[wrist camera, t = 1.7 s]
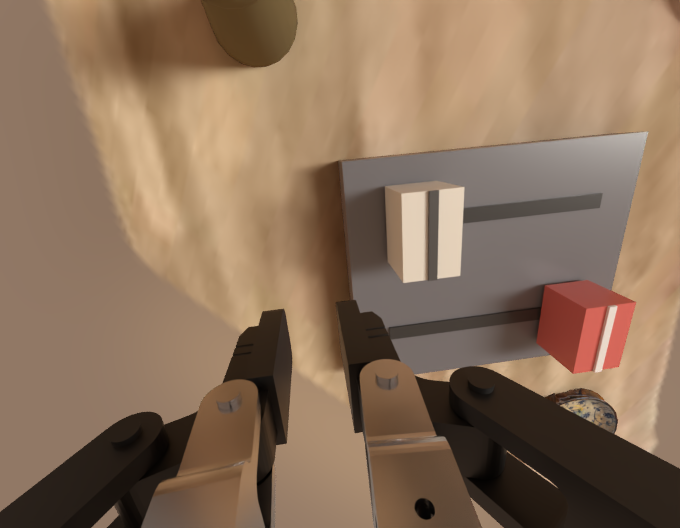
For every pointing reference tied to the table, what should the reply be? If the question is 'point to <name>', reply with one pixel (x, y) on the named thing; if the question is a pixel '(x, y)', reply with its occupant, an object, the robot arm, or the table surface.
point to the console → (492, 241)
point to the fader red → (584, 325)
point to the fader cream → (424, 230)
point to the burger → (588, 407)
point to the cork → (253, 28)
